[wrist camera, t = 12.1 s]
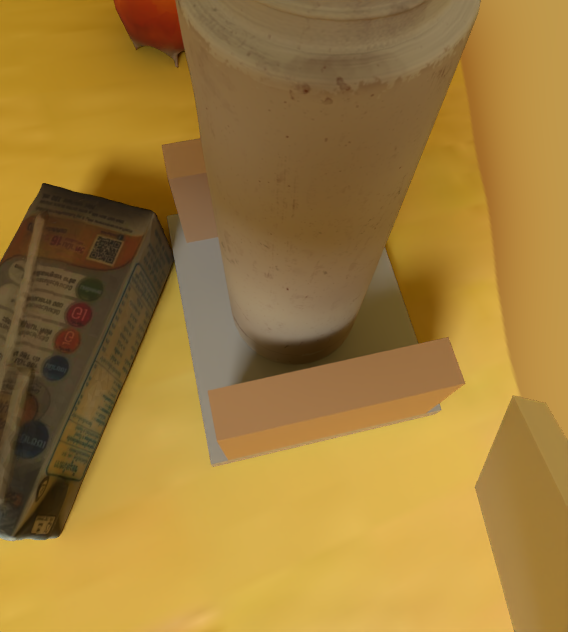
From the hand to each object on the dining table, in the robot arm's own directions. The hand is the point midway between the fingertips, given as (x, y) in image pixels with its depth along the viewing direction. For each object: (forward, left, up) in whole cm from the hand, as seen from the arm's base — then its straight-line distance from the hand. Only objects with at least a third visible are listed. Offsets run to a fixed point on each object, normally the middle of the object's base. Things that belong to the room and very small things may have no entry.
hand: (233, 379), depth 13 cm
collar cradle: (-9, +5, -20) cm, 22 cm away
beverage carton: (-9, -10, -20) cm, 24 cm away
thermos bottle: (-9, +5, -19) cm, 21 cm away
